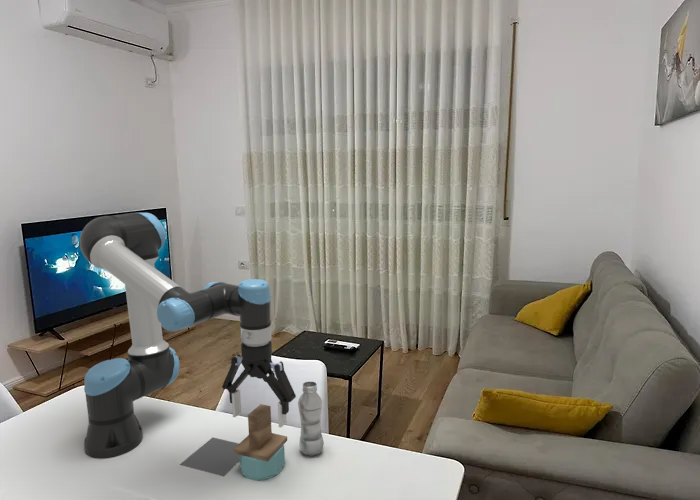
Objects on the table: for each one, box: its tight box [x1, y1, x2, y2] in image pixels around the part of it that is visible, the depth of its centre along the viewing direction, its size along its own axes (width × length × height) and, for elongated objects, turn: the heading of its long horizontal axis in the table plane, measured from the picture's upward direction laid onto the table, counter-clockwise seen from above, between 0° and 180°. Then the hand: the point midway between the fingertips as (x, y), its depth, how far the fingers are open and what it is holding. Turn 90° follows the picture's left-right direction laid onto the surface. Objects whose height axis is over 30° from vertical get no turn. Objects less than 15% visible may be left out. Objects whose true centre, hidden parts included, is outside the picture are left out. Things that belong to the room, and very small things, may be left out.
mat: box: [179, 437, 240, 477], centre depth 135 cm, size 14×14×1 cm
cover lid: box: [233, 403, 288, 462], centre depth 128 cm, size 10×10×10 cm
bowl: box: [238, 444, 286, 481], centre depth 130 cm, size 11×11×6 cm
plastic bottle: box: [297, 381, 324, 457], centre depth 135 cm, size 6×7×20 cm
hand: (259, 419), depth 128 cm, fingers open, 13 cm apart
